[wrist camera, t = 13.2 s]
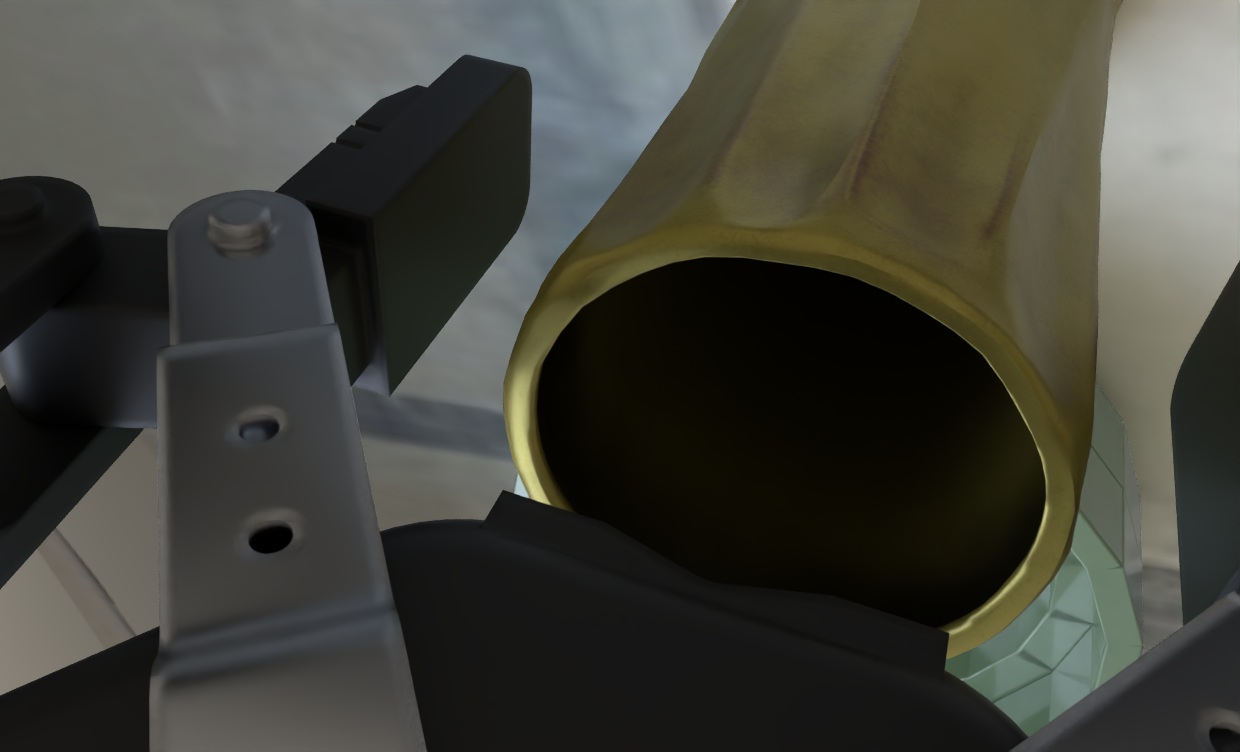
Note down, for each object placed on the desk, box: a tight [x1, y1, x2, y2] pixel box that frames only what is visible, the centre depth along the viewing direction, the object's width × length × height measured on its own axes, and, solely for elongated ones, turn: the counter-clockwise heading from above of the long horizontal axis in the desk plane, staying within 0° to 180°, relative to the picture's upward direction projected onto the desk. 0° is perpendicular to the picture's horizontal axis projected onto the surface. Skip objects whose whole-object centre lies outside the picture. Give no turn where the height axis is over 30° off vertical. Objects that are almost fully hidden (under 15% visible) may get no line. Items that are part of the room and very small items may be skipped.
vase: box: [503, 0, 1123, 659], centre depth 15 cm, size 6×6×14 cm
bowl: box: [513, 382, 1143, 737], centre depth 27 cm, size 14×14×5 cm
